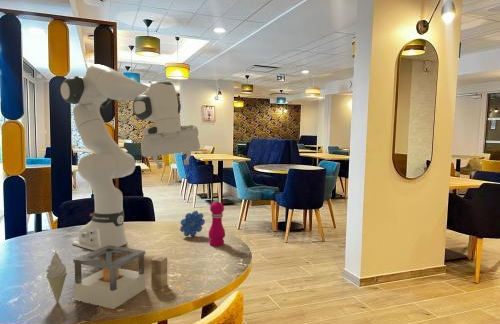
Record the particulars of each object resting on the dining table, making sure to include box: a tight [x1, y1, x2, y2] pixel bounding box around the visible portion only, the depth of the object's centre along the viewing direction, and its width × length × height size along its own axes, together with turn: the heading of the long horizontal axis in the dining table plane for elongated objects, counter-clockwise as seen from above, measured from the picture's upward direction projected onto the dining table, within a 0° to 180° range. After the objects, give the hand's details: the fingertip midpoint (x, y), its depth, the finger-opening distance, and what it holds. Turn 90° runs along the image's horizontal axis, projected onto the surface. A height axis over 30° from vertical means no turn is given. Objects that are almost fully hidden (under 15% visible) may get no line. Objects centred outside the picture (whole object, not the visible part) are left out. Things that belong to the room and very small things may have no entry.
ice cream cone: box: [45, 250, 68, 303], centre depth 102 cm, size 5×5×15 cm
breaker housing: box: [73, 267, 146, 310], centre depth 108 cm, size 14×14×5 cm
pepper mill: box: [208, 198, 226, 247], centre depth 157 cm, size 7×7×20 cm
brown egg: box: [102, 267, 120, 282], centre depth 108 cm, size 4×4×5 cm
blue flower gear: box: [179, 210, 206, 237], centre depth 169 cm, size 12×7×12 cm, turn 112°
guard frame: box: [72, 245, 146, 291], centre depth 107 cm, size 14×14×7 cm
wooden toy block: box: [150, 255, 168, 291], centre depth 114 cm, size 4×4×9 cm
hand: (173, 166), depth 129 cm, fingers open, 8 cm apart
